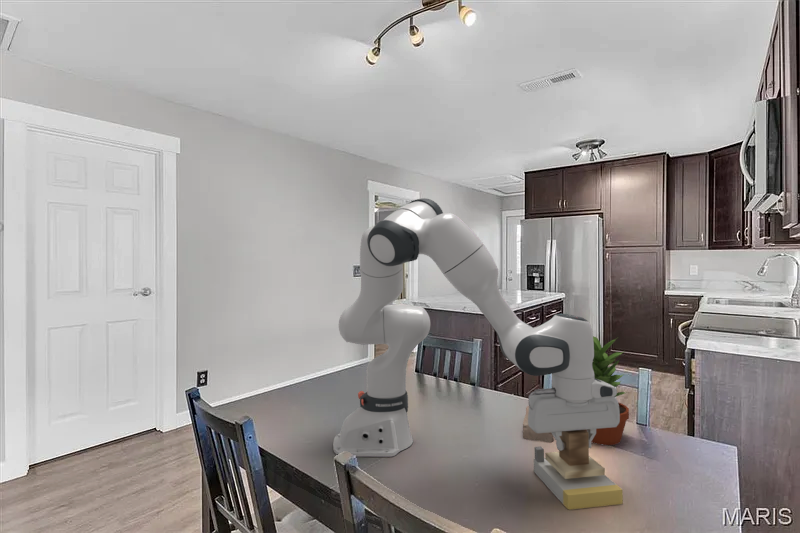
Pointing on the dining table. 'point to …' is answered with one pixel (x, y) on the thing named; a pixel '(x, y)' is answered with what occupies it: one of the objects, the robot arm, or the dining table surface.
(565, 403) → the robot arm
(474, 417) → the dining table surface
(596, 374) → the potted plant
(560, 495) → the dock
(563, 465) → the wooden block on base
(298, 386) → the dining table surface
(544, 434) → the brick
